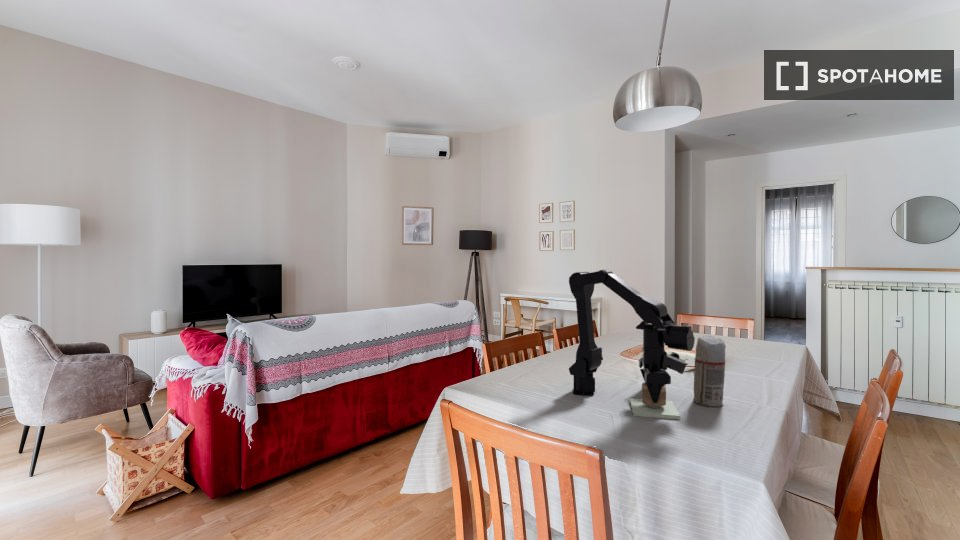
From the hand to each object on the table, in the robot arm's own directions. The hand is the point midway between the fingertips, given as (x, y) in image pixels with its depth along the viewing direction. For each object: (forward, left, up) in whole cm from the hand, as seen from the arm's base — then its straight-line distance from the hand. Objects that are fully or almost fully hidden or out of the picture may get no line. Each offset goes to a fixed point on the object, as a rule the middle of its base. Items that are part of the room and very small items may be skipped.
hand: (653, 399), depth 123 cm
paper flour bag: (+17, +10, -3) cm, 20 cm away
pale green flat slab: (0, 0, -3) cm, 3 cm away
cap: (0, 0, -1) cm, 1 cm away
